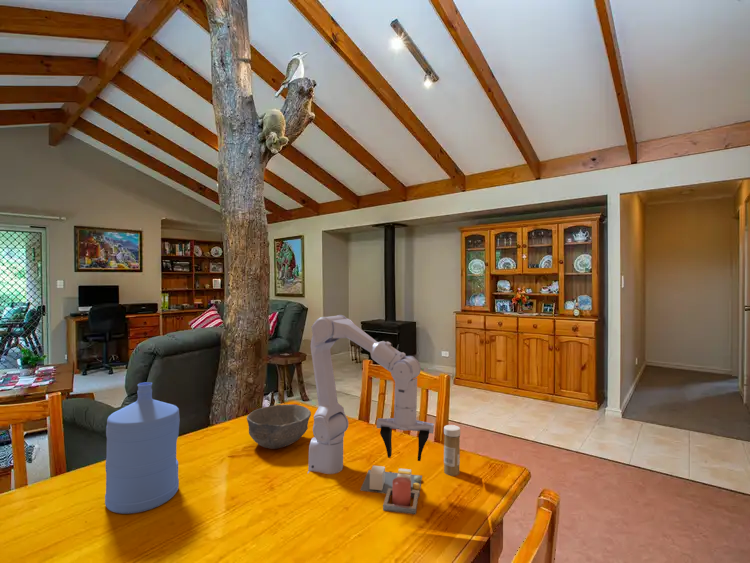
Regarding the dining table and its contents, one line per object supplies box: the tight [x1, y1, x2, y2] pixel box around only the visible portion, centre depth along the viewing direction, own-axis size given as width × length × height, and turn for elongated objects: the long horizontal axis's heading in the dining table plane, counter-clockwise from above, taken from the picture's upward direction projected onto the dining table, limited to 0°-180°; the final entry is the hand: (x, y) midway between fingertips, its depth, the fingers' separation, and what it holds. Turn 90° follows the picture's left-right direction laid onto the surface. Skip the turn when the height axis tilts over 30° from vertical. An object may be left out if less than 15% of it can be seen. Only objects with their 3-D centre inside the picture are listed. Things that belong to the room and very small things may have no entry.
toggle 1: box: [370, 465, 386, 490], centre depth 102 cm, size 3×4×4 cm
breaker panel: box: [359, 469, 423, 498], centre depth 104 cm, size 15×11×2 cm
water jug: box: [104, 381, 181, 515], centre depth 97 cm, size 16×16×28 cm
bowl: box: [246, 404, 312, 450], centre depth 130 cm, size 21×21×10 cm
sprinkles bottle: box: [443, 424, 461, 477], centre depth 111 cm, size 5×5×14 cm
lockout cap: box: [391, 477, 412, 506], centre depth 94 cm, size 4×4×6 cm
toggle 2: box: [397, 467, 412, 481], centre depth 100 cm, size 3×4×4 cm
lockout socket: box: [382, 488, 419, 515], centre depth 95 cm, size 8×8×2 cm
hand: (404, 457), depth 101 cm, fingers open, 7 cm apart
